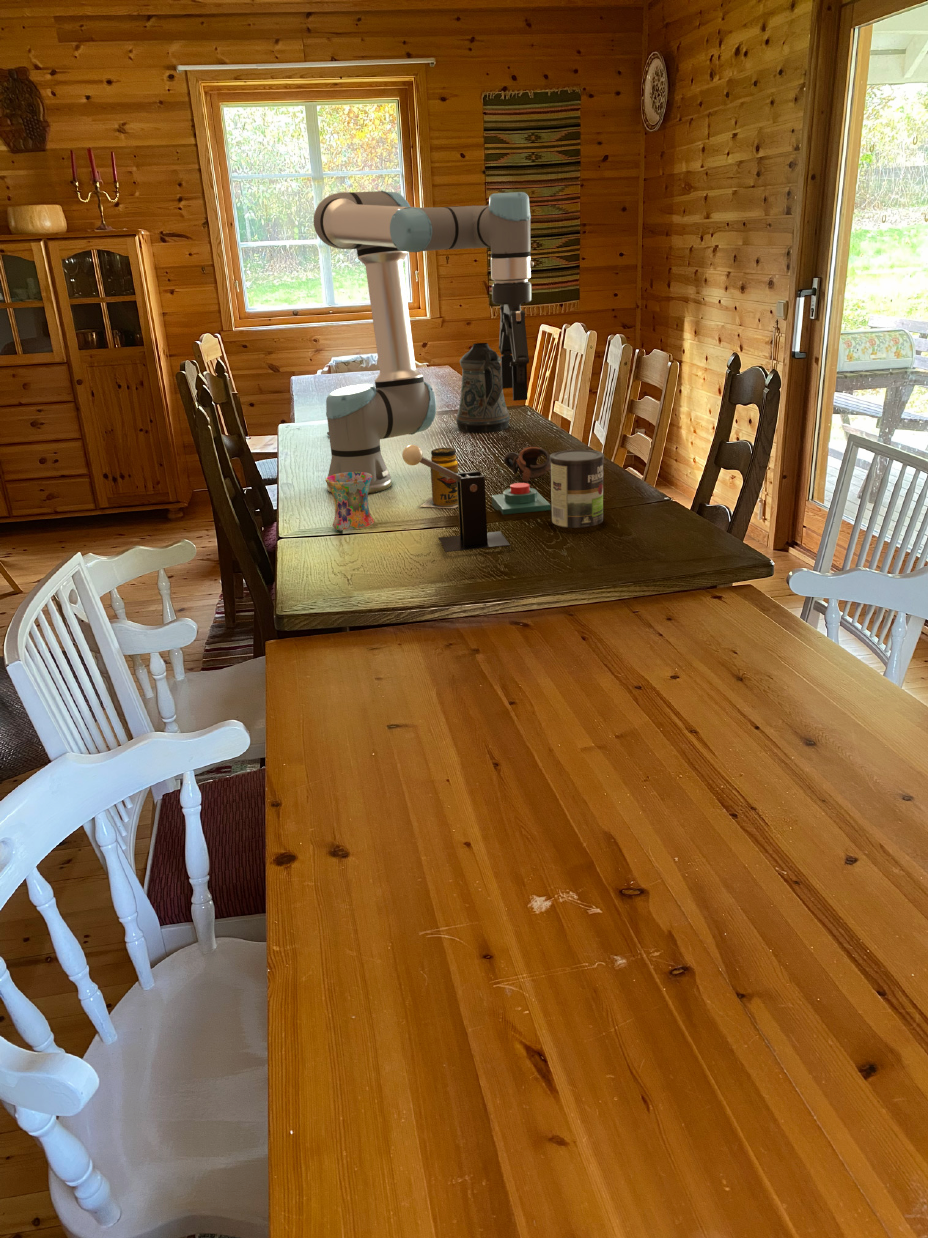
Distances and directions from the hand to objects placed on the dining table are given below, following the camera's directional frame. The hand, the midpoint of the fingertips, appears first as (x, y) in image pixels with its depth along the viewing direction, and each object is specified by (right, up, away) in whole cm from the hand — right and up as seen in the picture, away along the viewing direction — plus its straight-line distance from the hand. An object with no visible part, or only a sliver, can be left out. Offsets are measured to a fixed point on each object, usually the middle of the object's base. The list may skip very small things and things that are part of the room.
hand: (514, 393), depth 183 cm
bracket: (-8, -32, -12) cm, 35 cm away
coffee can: (+12, -27, -3) cm, 30 cm away
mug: (-33, -26, +5) cm, 42 cm away
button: (+2, -19, +8) cm, 21 cm away
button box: (+2, -22, +10) cm, 24 cm away
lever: (-15, -20, -18) cm, 31 cm away
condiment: (-15, -20, +18) cm, 31 cm away
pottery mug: (+5, -11, +36) cm, 38 cm away
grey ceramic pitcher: (-3, +13, +97) cm, 98 cm away
